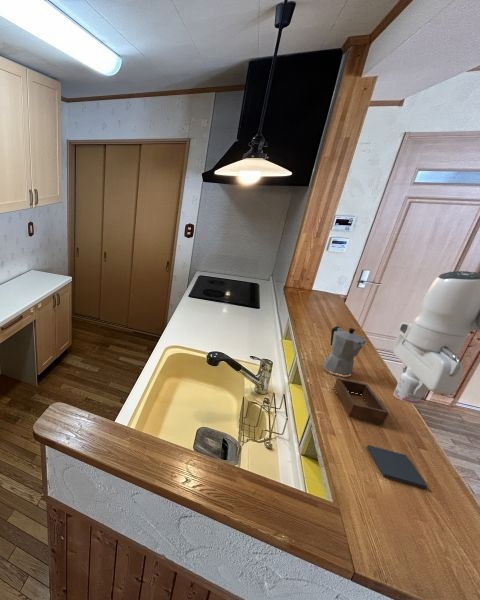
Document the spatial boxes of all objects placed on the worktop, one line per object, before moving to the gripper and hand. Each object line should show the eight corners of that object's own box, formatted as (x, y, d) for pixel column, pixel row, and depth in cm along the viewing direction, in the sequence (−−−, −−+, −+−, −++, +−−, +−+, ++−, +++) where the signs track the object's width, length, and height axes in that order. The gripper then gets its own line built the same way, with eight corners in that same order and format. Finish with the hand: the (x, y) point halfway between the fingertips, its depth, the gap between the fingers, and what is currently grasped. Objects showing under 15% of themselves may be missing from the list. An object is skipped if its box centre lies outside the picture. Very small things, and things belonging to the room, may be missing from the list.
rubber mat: (404, 457, 84) (405, 454, 83) (425, 489, 75) (427, 486, 75) (366, 447, 86) (368, 444, 86) (383, 476, 78) (384, 473, 77)
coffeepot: (361, 382, 116) (380, 338, 110) (334, 380, 117) (351, 335, 111) (334, 360, 130) (349, 319, 124) (310, 358, 131) (323, 317, 125)
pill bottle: (423, 402, 80) (437, 373, 77) (412, 406, 79) (426, 377, 76) (399, 391, 84) (412, 363, 81) (388, 394, 83) (401, 366, 80)
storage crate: (362, 395, 109) (367, 384, 107) (383, 425, 95) (388, 412, 94) (333, 388, 112) (337, 377, 110) (348, 416, 98) (353, 404, 96)
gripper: (483, 363, 65) (453, 418, 70) (428, 325, 83) (407, 371, 88) (442, 355, 68) (415, 409, 72) (397, 320, 85) (378, 365, 90)
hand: (410, 388), depth 80 cm, fingers closed on pill bottle, 5 cm apart
